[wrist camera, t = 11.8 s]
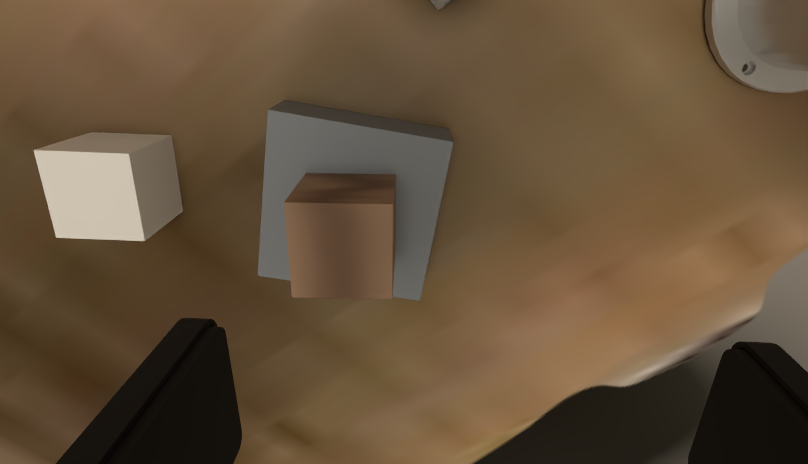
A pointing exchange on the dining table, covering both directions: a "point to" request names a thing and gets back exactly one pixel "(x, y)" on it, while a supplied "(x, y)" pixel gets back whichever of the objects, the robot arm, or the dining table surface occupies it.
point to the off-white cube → (110, 185)
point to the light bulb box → (439, 3)
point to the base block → (355, 154)
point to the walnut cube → (342, 235)
